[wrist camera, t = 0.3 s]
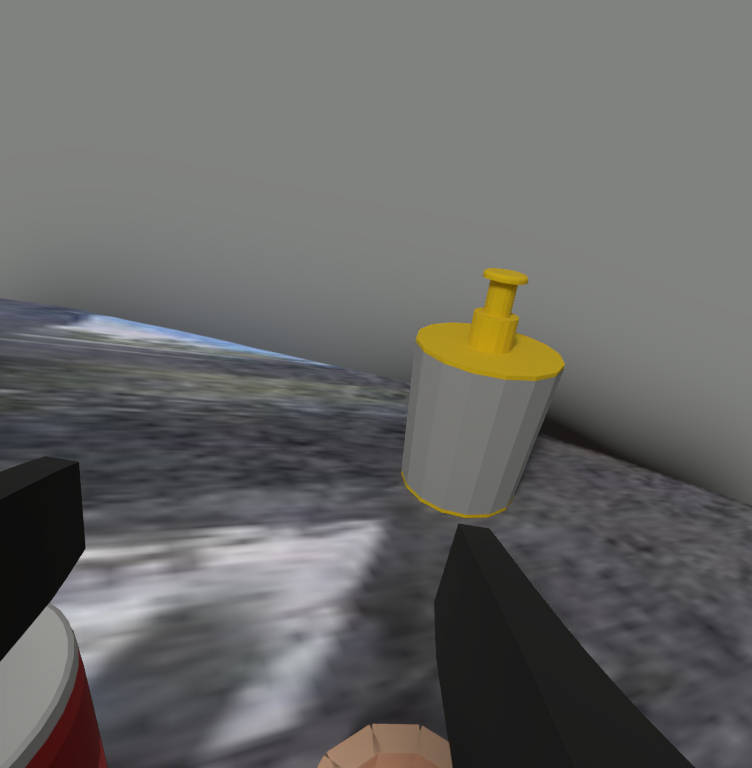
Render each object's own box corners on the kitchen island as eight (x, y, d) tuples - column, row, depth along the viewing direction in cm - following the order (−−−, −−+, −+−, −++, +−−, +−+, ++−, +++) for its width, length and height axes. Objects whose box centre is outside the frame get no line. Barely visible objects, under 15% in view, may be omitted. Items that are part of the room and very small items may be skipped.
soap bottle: (503, 450, 52) (556, 267, 43) (538, 531, 40) (620, 302, 31) (392, 438, 52) (422, 250, 43) (394, 516, 40) (437, 278, 31)
